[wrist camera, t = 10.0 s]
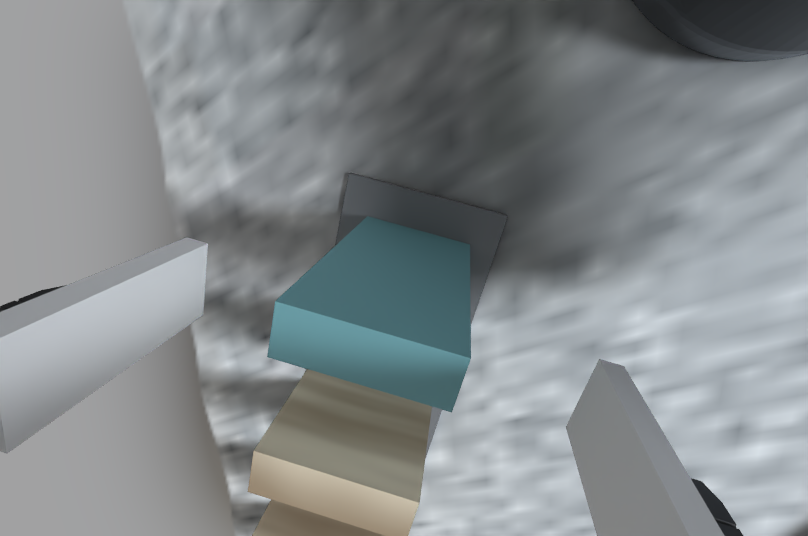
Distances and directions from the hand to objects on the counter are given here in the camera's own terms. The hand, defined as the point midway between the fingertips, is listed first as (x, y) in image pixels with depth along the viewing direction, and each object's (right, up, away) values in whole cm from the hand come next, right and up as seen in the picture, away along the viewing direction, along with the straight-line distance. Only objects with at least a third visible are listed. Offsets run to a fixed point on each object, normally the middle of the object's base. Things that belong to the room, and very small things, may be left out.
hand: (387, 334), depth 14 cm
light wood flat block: (0, -2, +12) cm, 12 cm away
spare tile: (+1, +3, +10) cm, 11 cm away
